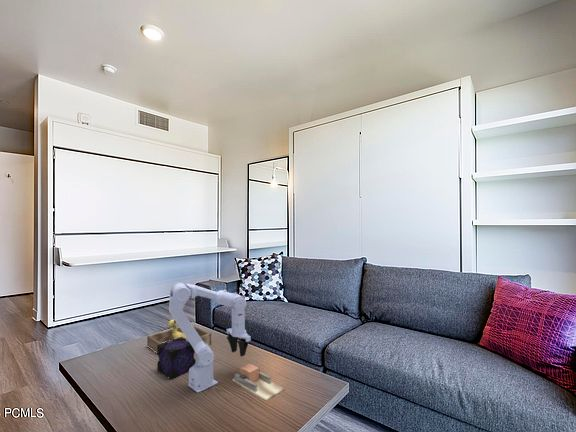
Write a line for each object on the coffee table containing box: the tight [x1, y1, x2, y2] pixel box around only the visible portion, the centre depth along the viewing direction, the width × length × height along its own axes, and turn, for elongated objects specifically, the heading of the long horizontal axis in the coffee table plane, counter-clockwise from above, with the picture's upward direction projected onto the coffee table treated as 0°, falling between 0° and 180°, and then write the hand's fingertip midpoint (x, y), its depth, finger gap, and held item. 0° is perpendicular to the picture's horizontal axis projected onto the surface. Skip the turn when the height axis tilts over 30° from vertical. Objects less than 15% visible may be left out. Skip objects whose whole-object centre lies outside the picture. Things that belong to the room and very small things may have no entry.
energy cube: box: [156, 337, 196, 380], centre depth 137 cm, size 12×12×12 cm
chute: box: [231, 369, 285, 402], centre depth 123 cm, size 10×21×4 cm, turn 48°
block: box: [240, 363, 260, 382], centre depth 127 cm, size 5×6×5 cm
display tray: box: [146, 325, 212, 352], centre depth 163 cm, size 25×23×6 cm
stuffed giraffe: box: [166, 319, 188, 343], centre depth 163 cm, size 16×18×16 cm
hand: (238, 353), depth 132 cm, fingers open, 5 cm apart
